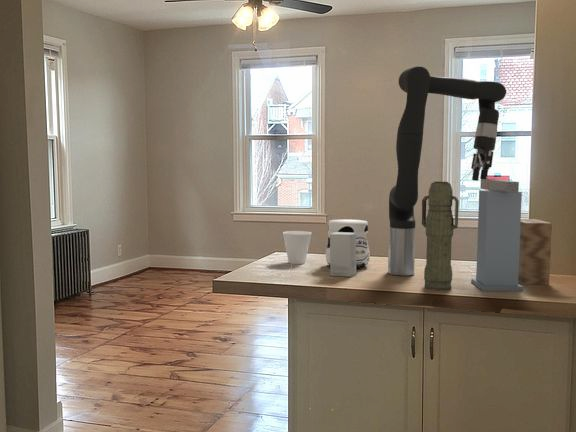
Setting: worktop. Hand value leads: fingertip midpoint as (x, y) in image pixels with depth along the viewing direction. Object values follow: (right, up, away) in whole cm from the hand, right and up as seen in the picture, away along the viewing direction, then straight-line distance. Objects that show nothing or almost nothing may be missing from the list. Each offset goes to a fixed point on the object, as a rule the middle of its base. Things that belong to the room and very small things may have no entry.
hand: (479, 180), depth 226 cm
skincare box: (-51, -35, -4) cm, 62 cm away
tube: (-1, -5, -24) cm, 24 cm away
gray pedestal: (-1, -37, -23) cm, 44 cm away
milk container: (-48, -34, +14) cm, 60 cm away
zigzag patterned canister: (+14, -36, -11) cm, 40 cm away
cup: (-68, -33, +22) cm, 78 cm away
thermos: (-21, -37, -24) cm, 49 cm away
